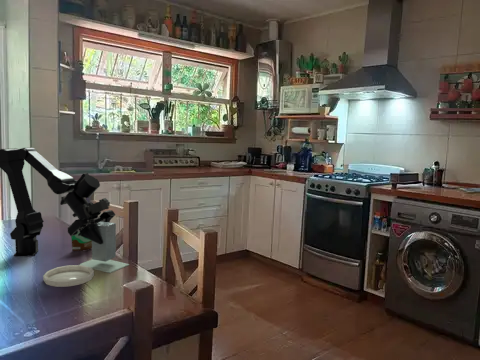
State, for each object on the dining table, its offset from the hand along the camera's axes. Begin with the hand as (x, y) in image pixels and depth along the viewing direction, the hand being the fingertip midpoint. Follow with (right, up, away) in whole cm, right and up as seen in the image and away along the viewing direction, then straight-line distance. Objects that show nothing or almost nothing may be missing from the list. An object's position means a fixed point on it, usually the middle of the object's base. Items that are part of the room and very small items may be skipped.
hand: (107, 241), depth 133 cm
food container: (-15, -6, +21) cm, 26 cm away
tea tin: (-2, -6, +1) cm, 6 cm away
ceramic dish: (-8, -10, -10) cm, 17 cm away
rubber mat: (-2, -9, +2) cm, 9 cm away
